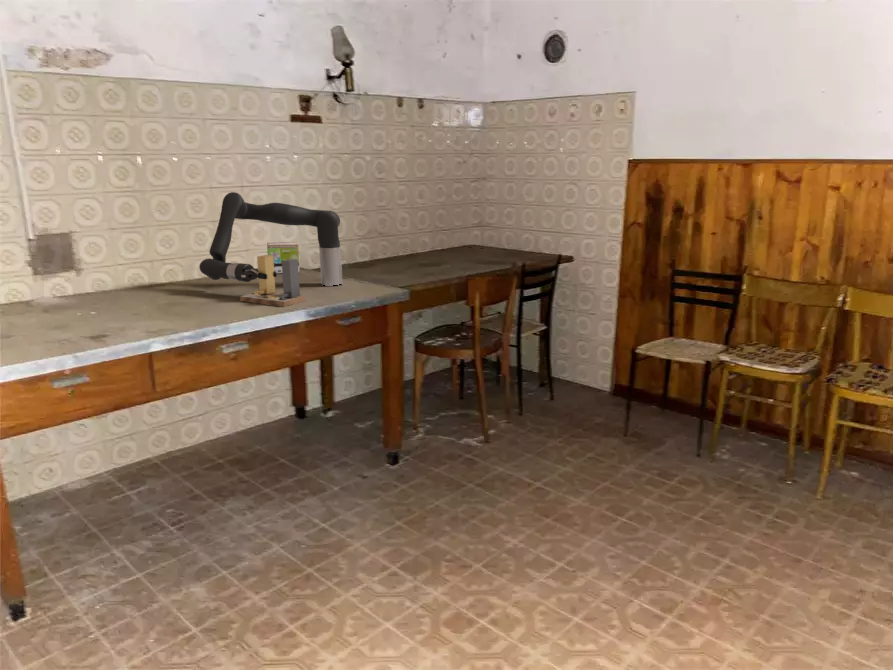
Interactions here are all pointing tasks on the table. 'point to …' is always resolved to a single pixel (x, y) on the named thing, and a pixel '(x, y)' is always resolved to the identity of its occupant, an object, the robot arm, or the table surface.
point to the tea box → (283, 253)
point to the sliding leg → (268, 268)
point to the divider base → (269, 302)
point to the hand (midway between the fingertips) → (271, 275)
